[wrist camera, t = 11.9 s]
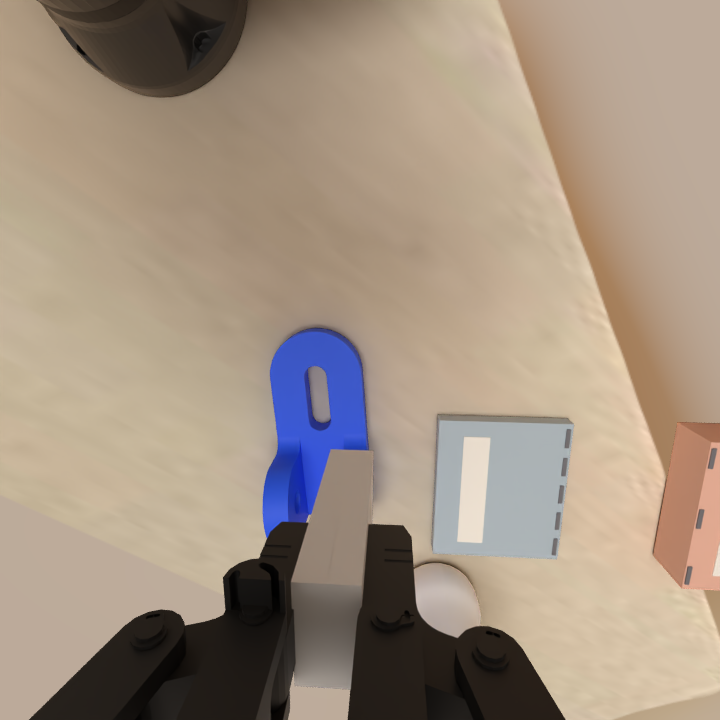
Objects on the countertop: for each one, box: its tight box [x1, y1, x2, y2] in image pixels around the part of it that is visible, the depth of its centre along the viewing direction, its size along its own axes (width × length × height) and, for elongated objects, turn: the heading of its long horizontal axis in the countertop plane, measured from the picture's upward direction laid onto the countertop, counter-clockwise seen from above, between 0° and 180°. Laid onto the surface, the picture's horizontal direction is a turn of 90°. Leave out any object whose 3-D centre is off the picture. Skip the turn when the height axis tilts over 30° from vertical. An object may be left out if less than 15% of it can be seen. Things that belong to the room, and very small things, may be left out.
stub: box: [653, 422, 720, 590], centre depth 41 cm, size 14×5×5 cm, turn 0°
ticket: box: [431, 415, 574, 559], centre depth 43 cm, size 14×12×2 cm
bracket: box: [263, 328, 369, 538], centre depth 40 cm, size 18×8×9 cm, turn 4°
